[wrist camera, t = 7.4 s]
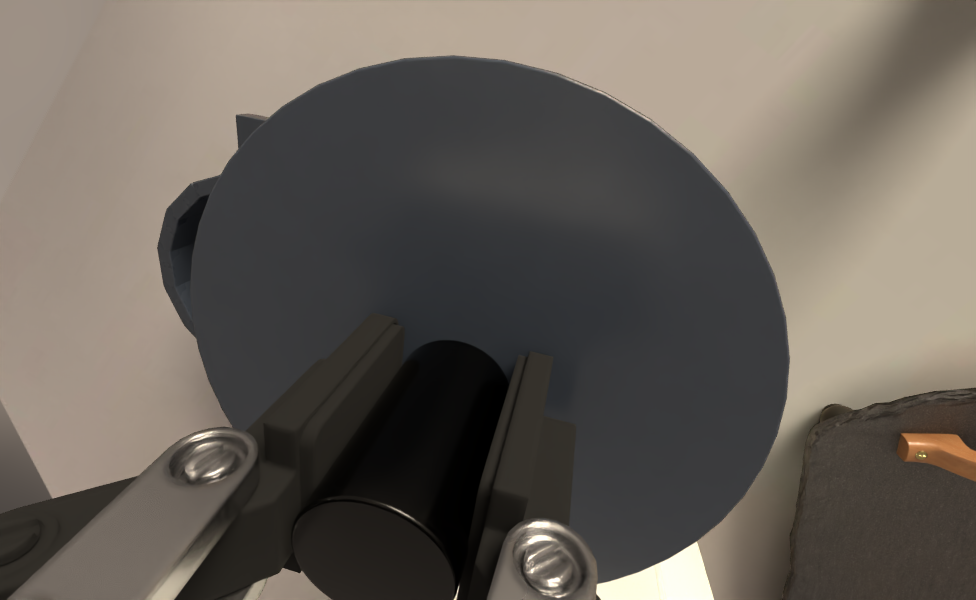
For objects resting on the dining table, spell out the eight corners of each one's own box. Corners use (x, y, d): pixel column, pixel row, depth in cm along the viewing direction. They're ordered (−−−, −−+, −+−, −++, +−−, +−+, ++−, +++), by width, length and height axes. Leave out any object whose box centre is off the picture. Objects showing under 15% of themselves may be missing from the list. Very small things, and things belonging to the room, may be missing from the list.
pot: (263, 333, 39) (181, 393, 31) (246, 93, 31) (131, 97, 23) (410, 370, 37) (361, 444, 29) (432, 128, 29) (373, 143, 22)
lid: (242, 483, 16) (76, 669, 11) (191, 7, 10) (-236, -70, 5) (658, 610, 14) (691, 901, 9) (906, 128, 8) (1402, 202, 3)
